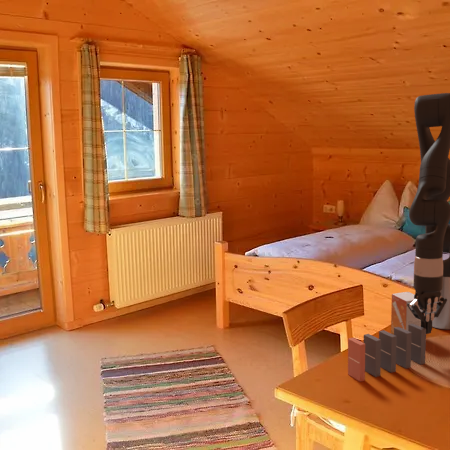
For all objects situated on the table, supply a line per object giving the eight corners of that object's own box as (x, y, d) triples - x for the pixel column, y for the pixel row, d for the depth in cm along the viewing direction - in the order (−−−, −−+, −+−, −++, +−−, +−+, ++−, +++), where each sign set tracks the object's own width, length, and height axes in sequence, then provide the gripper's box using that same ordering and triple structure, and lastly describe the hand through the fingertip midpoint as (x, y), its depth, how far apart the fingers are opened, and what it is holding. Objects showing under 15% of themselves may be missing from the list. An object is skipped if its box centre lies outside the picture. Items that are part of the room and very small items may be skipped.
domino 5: (412, 357, 162) (412, 323, 161) (425, 363, 158) (426, 328, 156) (407, 358, 162) (408, 324, 160) (420, 364, 157) (421, 330, 156)
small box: (390, 333, 181) (391, 293, 179) (407, 330, 183) (408, 291, 180) (405, 342, 173) (406, 300, 171) (423, 339, 175) (424, 298, 173)
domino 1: (352, 373, 154) (353, 337, 152) (364, 380, 149) (365, 343, 147) (347, 374, 153) (348, 338, 151) (359, 381, 148) (360, 345, 147)
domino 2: (368, 368, 156) (368, 333, 154) (380, 375, 151) (381, 339, 150) (363, 370, 155) (363, 334, 153) (375, 377, 151) (376, 340, 149)
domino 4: (397, 360, 160) (398, 326, 159) (410, 367, 156) (411, 332, 154) (393, 362, 160) (393, 327, 158) (406, 368, 155) (406, 333, 153)
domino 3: (383, 364, 158) (383, 330, 156) (395, 371, 154) (396, 336, 152) (378, 366, 157) (379, 331, 156) (391, 372, 153) (391, 337, 151)
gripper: (420, 279, 151) (418, 341, 154) (456, 272, 156) (454, 332, 159) (399, 272, 157) (398, 333, 160) (435, 266, 163) (433, 324, 166)
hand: (426, 332), depth 160 cm, fingers closed
